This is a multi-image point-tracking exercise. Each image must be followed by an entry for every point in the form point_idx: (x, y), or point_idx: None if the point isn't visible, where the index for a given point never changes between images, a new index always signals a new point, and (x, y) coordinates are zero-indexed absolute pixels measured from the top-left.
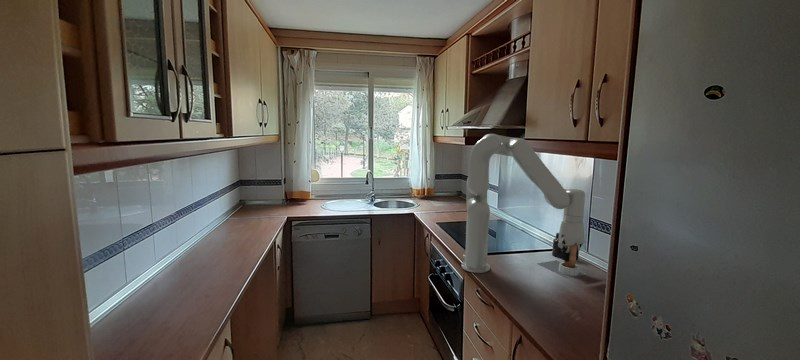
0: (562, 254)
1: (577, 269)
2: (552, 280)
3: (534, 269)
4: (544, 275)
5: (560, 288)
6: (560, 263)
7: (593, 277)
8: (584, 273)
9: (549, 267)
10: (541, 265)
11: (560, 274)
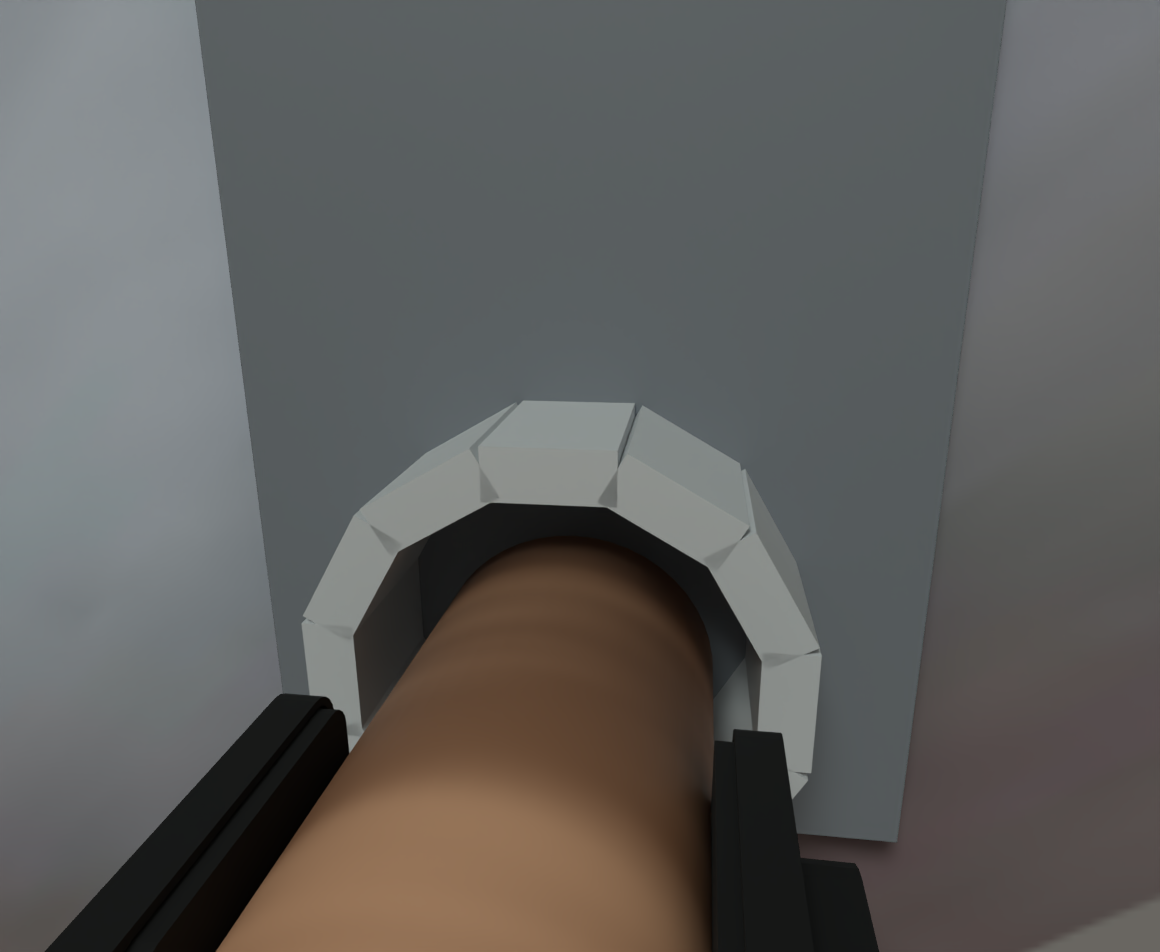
0: (173, 810)
1: None
2: (72, 657)
3: (20, 70)
4: (55, 434)
5: (21, 892)
6: (417, 503)
7: (947, 883)
8: (854, 799)
9: (333, 220)
10: (219, 9)
11: (297, 629)
